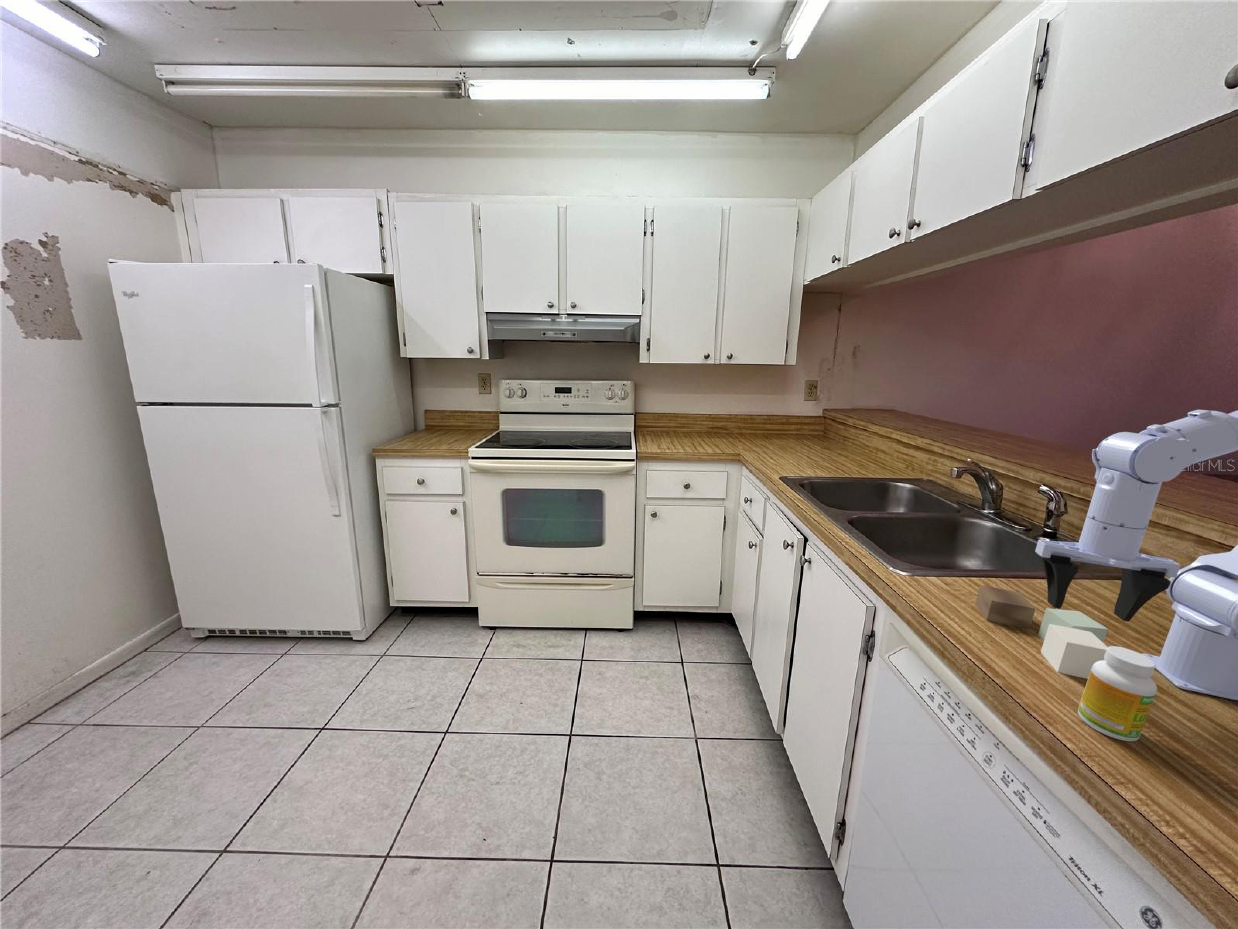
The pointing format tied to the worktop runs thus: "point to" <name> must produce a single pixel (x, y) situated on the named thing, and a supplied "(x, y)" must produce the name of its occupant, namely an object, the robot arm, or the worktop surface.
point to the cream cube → (1072, 650)
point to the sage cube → (1071, 622)
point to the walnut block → (1005, 606)
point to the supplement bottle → (1119, 694)
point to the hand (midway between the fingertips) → (1086, 611)
